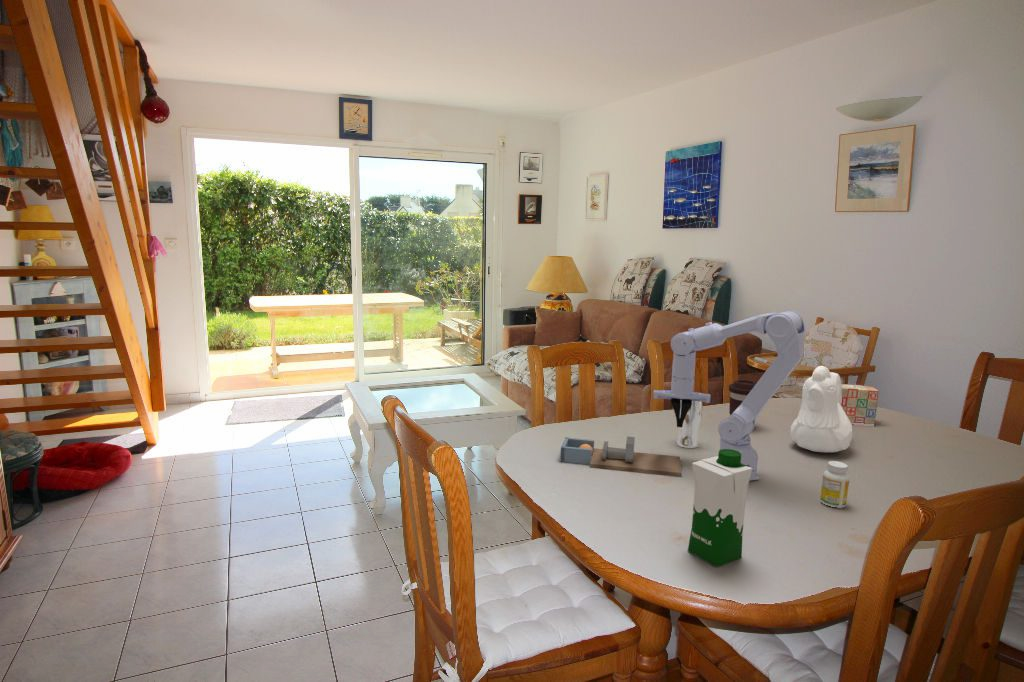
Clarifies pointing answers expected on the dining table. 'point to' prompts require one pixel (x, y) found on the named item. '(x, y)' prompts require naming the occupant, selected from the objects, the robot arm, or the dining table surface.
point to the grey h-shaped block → (620, 451)
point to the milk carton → (719, 507)
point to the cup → (576, 451)
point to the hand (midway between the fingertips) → (679, 426)
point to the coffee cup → (739, 393)
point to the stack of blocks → (859, 403)
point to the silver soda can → (690, 426)
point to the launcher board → (640, 463)
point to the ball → (587, 447)
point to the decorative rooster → (822, 415)
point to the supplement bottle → (835, 485)
